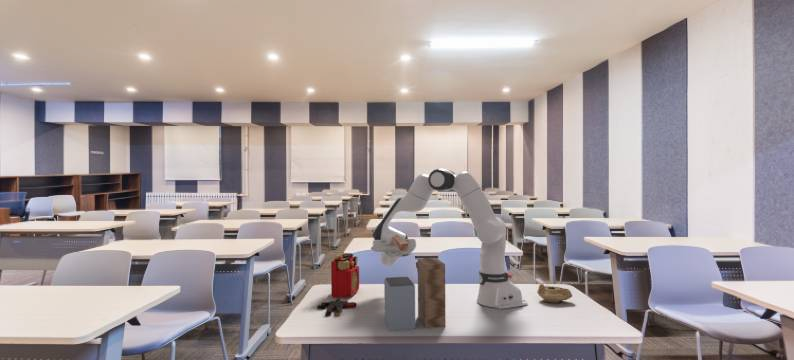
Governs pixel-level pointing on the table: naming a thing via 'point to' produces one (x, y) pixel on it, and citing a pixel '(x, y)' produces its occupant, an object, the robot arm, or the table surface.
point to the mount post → (431, 292)
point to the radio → (344, 276)
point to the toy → (336, 306)
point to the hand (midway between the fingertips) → (396, 239)
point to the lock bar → (400, 243)
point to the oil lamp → (553, 293)
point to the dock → (399, 303)
